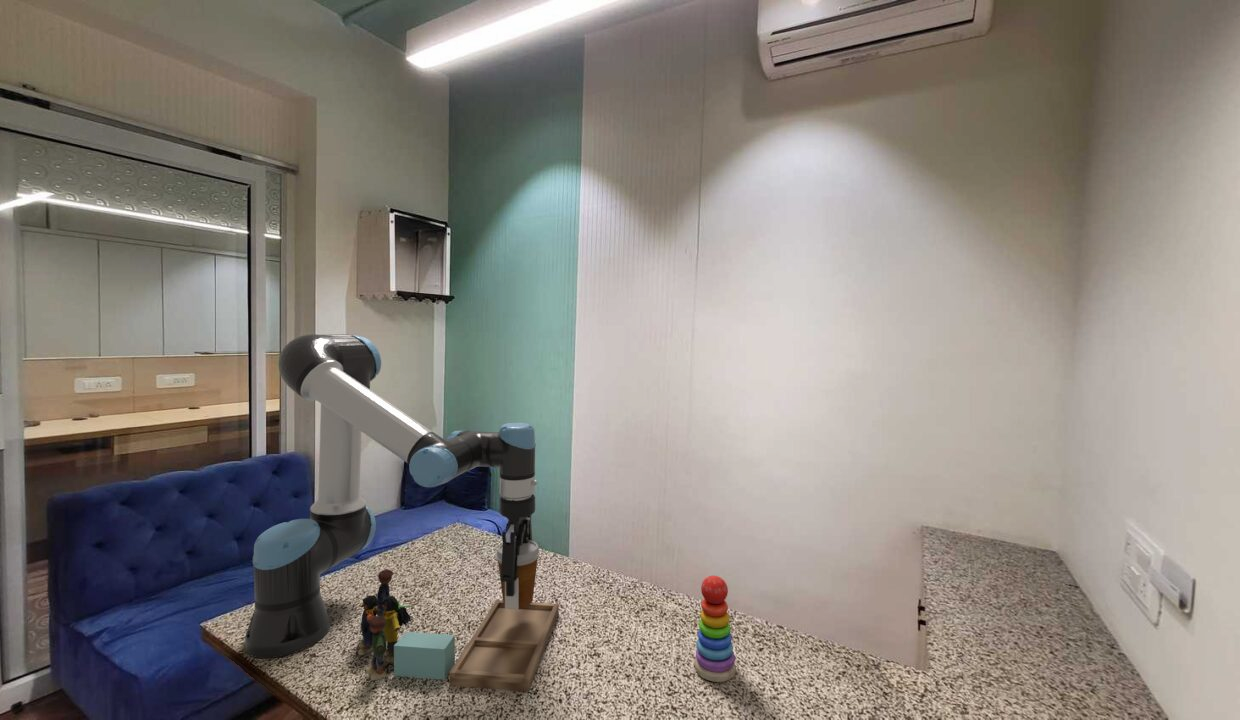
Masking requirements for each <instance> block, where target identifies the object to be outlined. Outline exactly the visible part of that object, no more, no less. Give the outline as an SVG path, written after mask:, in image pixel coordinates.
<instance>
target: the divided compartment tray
mask: <svg viewBox="0 0 1240 720" xmlns="http://www.w3.org/2000/svg"><path fill="white" fill-rule="evenodd" d="M559 607H560V604H559V603H550V602H548V603H547V602H535V601H534V602H533V601H532V603H531V604H529V605H528V606H526V607H523V608H518V610H510V609H505V605H504V603H503V599H502V600H499V599H495V601H494V603H493V604H492V606H491V607H490V609H489V611H488V612H487V614H486V615H485V617H484V618H483V619H482V621H481V623H479V626H478V628H477V629H476V630H475V632H474V633H473V635H472V637H471V638H470V639H469V641H468V643H467V644H466V646H465V647H464V649H463V651H462V652H461V653H460V655H459V657H458V658H457V659H456V660H455V664H454V666H453V667H452V669H451V671H450V672H449V674H448V677H449V678H448V683H449V684H448V685H449V686H450V687H451V686H452V687H461V688H463V687H464V688H474V689H488V690H489V689H490V690H501V691H513V692H523V693H524V692H525V693H528V692H529V691H530V688H531V686H532V684H533V681H534V678H535V676H536V673H537V670H538V668H539V666H540V663H541V661H542V659H543V657H544V656H543V655H544V653H545V650H546V648H547V645H548V643H549V640H550V638H551V635H552V633H553V630H554V627H555V626H556V622H557V619H558V617H559V612H560V611H559V610H560V608H559Z"/></svg>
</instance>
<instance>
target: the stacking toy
mask: <svg viewBox="0 0 1240 720" xmlns="http://www.w3.org/2000/svg"><path fill="white" fill-rule="evenodd" d="M700 586H701V587H700V589H701V594H702V597H703V600H702V601H701V605H700V606H701V612H700V620H699V622H698V627H699V629H698V632H697V637H698V638H697V640H696V651H695V658H694V664H693V665H694V669H695V672H697V674H698V675H699V676H700V677H701V678H703V679H705V680H707V681H710V682H714V683H723V682H727V681H729V680H731V679H732V678H733V677H734V676H735V674H736V672H737V671H736V670H737V668H736V667H737V665H736V663H735V661H736V657H735V653H734V651H733V650H734V645H733V643H732V640H733V639H732V633H731V625H730V614H729V613H728V610H729V609H728V608H729V607H728V603H727V602H726V599H727V596H728V594H729V591H728V590H729V588H728V585H727V582H726V581H725V580H724V579H723V578H722V577H720V576H719V575H709V576H707V577H705V578H704V579H703V580H702V582H701V585H700Z"/></svg>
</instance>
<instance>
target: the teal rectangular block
mask: <svg viewBox="0 0 1240 720" xmlns="http://www.w3.org/2000/svg"><path fill="white" fill-rule="evenodd" d="M455 636H456V635H455V634H446V633H445V634H444V633H431V632H415V631H405V632H404V634H403V635H402V636H401V637H400V638H399V639H398V640H397V641H398V642H397V643H396V644H395V645H394V661H393V674H394V675H393V676H395V677H405V678H407V677H409V678H417V679H418V678H421V679H432V680H433V679H434V680H442V681H443V680H445V679H447V677H448V676H449V672H450V671H451V669H452V667H453V666H454V664H455V663H456V659H455V658H456V643H455V642H456V639H455V638H456V637H455Z"/></svg>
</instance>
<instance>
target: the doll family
mask: <svg viewBox="0 0 1240 720" xmlns="http://www.w3.org/2000/svg"><path fill="white" fill-rule="evenodd" d="M393 575H394V572H393V571H392V570H391V569H383V570H381V571H379V572H378V574H377V578H378V580H379V581H378V582H379V583H380V585H379V587H378V591H377V595H375V594H372V595H371V594H369V595H367V596H366V597H364V598H363V599H362V602H360V601H359V602H357V604H359V605H360V607H361V608H363V611H362V615H361V623H360V630H361V634H362V640H361V641H360V642H359V643H358V648H359V650H358V652H357V654H358V655H359V656H365V655H367V654H369V653H370V652H372V653H373V655H372V657H371V661H370V664H371V665H369V666H368V667H367V668H366V670H365V673H366V674H367V675H370V678H369V679H370V680H371V681H376V680H380V679H384V677H386V676H387V672H386V671H385V670H384V665H385V662H386V663H392V662H393V663H394V645H395V644H396V643H397V642H398V640H399V639H398V634H399V632H400V630H401V627H402V626H406V627H407V626H408V625H409V622H412V620H414V619H415V618H414V617H413V616H411V614H410V613H408V611H407V608H410V607H412V604H408V605H400V601H399V600H397V598H396V597H395V595H390V585H389V584H390V582H391V581H392V578H393ZM411 619H412V620H411ZM384 656H385V661H384V660H383V659H384Z"/></svg>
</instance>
